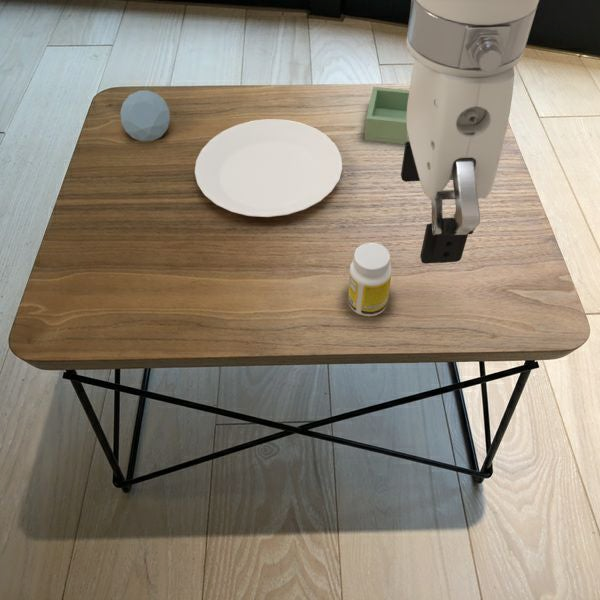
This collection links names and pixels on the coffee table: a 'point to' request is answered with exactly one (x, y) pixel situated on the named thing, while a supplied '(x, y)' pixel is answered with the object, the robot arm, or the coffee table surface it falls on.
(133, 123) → the gemstone
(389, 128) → the holder
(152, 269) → the coffee table surface
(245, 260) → the coffee table surface
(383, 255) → the supplement bottle
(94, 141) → the coffee table surface
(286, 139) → the plate
